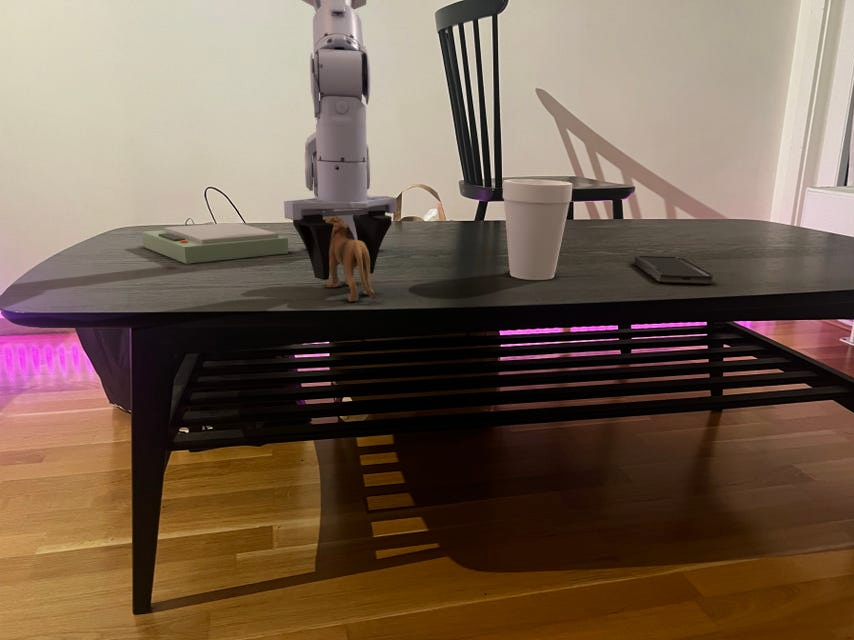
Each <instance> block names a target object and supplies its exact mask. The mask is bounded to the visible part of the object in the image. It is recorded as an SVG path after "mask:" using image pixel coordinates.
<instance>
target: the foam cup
mask: <svg viewBox="0 0 854 640" xmlns="http://www.w3.org/2000/svg"><path fill="white" fill-rule="evenodd" d="M502 181H503V182H502V199H503V205H504V216H505V217H504V218H505V231H506V243H507V255H508V269H509V275H510V276H511V277H513V278H515V279H520V280H529V281H545V280H551V279H553V278H554V277H555V274H556V270H557V265H558V260H559V255H560V252H561V251H560V250H561V245H562V242H563V241H562V240H563V236H564V231H565V226H566V221H567V216H568V212H569V207H570V203H571V202H572V196H573V183H572V182H569V181H561V180H549V179H531V178H513V179H511V178H510V179H504V180H502Z"/></svg>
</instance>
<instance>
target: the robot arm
mask: <svg viewBox="0 0 854 640" xmlns="http://www.w3.org/2000/svg"><path fill="white" fill-rule="evenodd" d="M301 1H302V2H304V3H306V4H308V5H310V6H311V7H313V9H314V11H315V12H314V14H313V18H312V38H313V39H312V41H313V43H312V45H313V48H312V49H313V53H312V52H310V56H309V74H310V75H309V76H310V79H309V80H310V94H311V98H312V103H313V104H312V105H313V113H314V114H313V115H314V118H315V120H316V124H315V132H313V133H312V134H310V135H309V136H308V137H307V138H306V141H305V142H304V175H305V188H307V189H308V191H310V192H313V195H314V197H312V198H304V199H296V200H284V201H283V210H284V211H283V213H284V219H287V220H291V221H292V225H293V227H294V229H295V230H296V232H297V233H298V235H299V237H300V239H301V241H302V242H303V245H304V247H305V249H306V252H307V254H308V257H309V260H310V263H311V267H312V271H313V275H314V278H315V279H319V280H321V281H328V280H329V279H330V263H329V250H330V241H331V235H332V231H333V227H334V225H333V224H331V223H326V220H323V217H332V216H338V217H339V218H341V219H342V220H343V221H345V223H346V225H348V226H349V228H350V230H351V232H352V233H353V236H354V239H355V240H360V241H362V242H364V243H365V245H366V248H367V250H368V252H369V257H370V275H371V274H374V272H375V268H376V263H377V259H378V255H379V252H380V251H381V250H382V247H381V246H382V243H383V240H384V238H385V236H386V234H387V233H388V231H389V230H390V228H391V226H392V224H393V223H392V222H393V218H392V216H390V215H387V214H397V197H395V196H388V195H381V196H379V195H378V196H375V195H374V196H373V195H370V194H368V190H369V189H370V187H371V162H370V153H369V151H370V149H369V148H370V147H369V144H368V142H367V105H368V104H369V100H370V95H371V63H370V59H369V54H368V50H367V48H366V47H367V46H364V40H363V26H362V20H361V17H360V15H359V14H358V12H357V10H356V9H359V8H361V7H364V6H366V5H367V0H301ZM363 97H364V99H365V104H366V105H365V104H364V103H363Z"/></svg>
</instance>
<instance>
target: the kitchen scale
mask: <svg viewBox="0 0 854 640" xmlns="http://www.w3.org/2000/svg"><path fill="white" fill-rule="evenodd" d="M142 241H143V248H145V249H148V250H150V251H153V252H155V253H158V254H160V255H163V256H166V257H168V258H171V259H173V260H175V261H178V262H180V263H183V264H186V265H188V264H189V265H190V264H197V263H198V264H200V263H206V262H207V263H208V262H217V261H226V260H235V259H236V260H237V259H245V258H246V259H247V258H256V257H267V256H275V255H285V254H289V238H288V237H286V236H281V235H279V233H278V232H274V231H269V230H267V229H262V228H259V227H255V226H251V225H247V224H244V223H240V222H225V223H223V222H222V223H207V224H194V225H181V226H180V225H178V226H167V227H165V226H164V227H163V230H162V229H161V230H150V231H142Z"/></svg>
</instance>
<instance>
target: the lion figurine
mask: <svg viewBox="0 0 854 640" xmlns="http://www.w3.org/2000/svg"><path fill="white" fill-rule="evenodd" d="M323 220H326V223H331V224H333V225H334V227H333V231H332V235H331V241H330V250H329V263H330V273H329V275H330V280H331V281H329V282H327V284H326V287H327V288H337V287H339V284H340V279H339V275H338V266H339V265H340V266H342V270H343V274H344V278H345V279H344V280H345V285H348V287H349V290H350V295H348V297H347V300H348V302H356V301H358V300H359V293H358V287H357V283H356V280H355V269H356V268H357V269H358V270H357V271H358V275H359V279H360V282H361V285H362V287H363V294H364V295H368V297H369V298H370V300H371V299H372V300H379V296H378V295H377V294H376V293H375V292H374V290H373V289H372V283H371V274H370V257H369V252H368V250H367V248H366V245H365V243H364V242H362V241H360V240H355V239H354V236H353V233H352V232H351V230H350V228H349V226H348V225H346V223H345V221H343V220H342V219H341V218H339V217H338V216H332V217H323Z"/></svg>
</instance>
